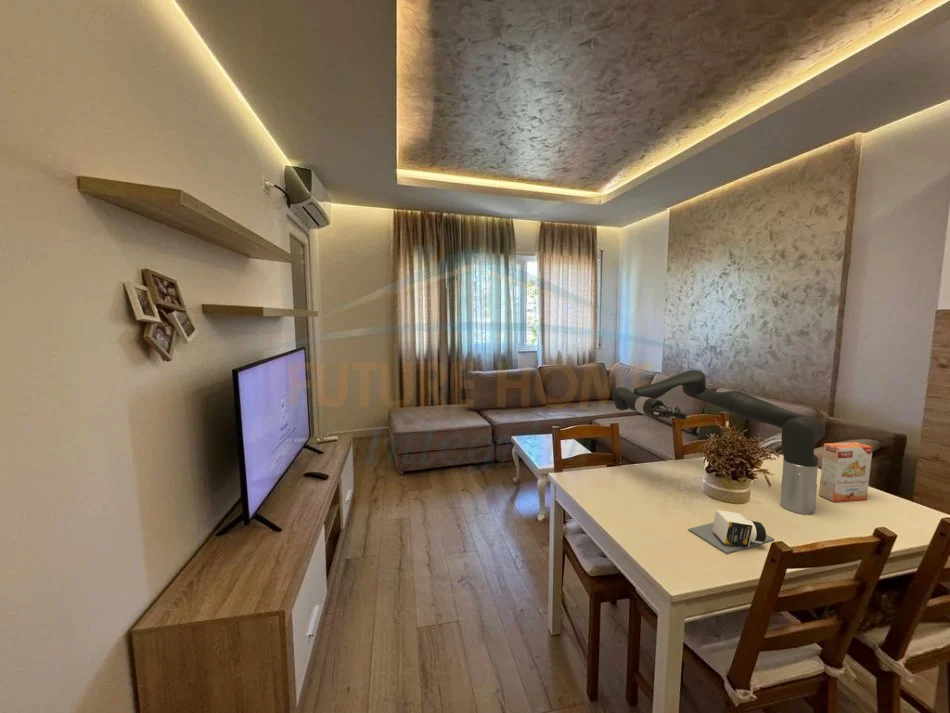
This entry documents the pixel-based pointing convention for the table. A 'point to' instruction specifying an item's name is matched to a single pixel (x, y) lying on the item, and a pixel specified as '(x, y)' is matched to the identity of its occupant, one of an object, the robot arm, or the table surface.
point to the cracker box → (845, 471)
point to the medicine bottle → (737, 529)
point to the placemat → (711, 538)
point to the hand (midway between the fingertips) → (684, 416)
